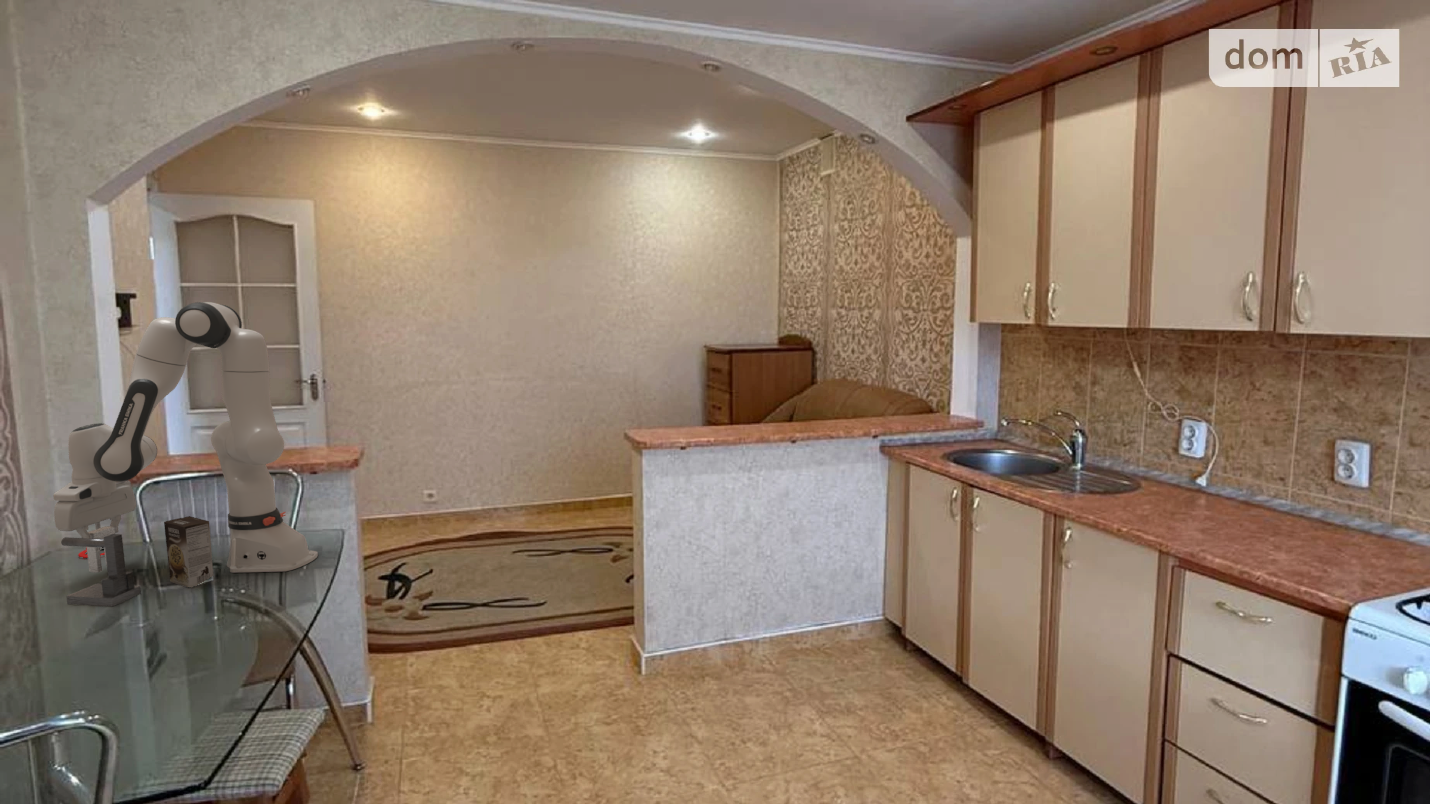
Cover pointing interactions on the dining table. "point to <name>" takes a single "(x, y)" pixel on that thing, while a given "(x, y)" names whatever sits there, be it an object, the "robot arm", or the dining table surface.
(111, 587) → the grey hook stand
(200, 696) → the dining table surface
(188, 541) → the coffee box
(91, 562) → the beige u-shaped piece
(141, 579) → the dining table surface
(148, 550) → the dining table surface
